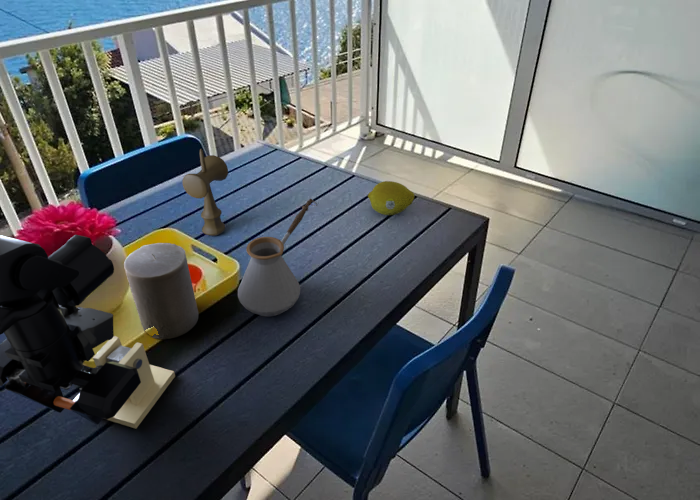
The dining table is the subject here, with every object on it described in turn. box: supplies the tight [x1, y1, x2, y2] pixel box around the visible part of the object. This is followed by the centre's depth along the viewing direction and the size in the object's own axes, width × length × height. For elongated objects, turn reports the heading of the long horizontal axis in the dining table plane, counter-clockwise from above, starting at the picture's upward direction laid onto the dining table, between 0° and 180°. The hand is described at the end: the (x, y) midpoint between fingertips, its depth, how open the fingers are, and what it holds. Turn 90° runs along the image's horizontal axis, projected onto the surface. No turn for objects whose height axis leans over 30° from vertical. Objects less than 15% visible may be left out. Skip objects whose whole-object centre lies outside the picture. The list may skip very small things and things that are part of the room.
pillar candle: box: [123, 242, 199, 340], centre depth 85 cm, size 10×10×15 cm
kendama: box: [182, 148, 229, 237], centre depth 106 cm, size 6×10×20 cm, turn 164°
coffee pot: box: [237, 198, 318, 317], centre depth 93 cm, size 21×12×15 cm, turn 151°
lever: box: [53, 345, 132, 412], centre depth 68 cm, size 11×6×2 cm, turn 163°
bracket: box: [92, 335, 176, 430], centre depth 73 cm, size 10×8×10 cm
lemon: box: [367, 180, 415, 216], centre depth 118 cm, size 11×8×8 cm
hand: (80, 415), depth 65 cm, fingers closed on lever, 5 cm apart
